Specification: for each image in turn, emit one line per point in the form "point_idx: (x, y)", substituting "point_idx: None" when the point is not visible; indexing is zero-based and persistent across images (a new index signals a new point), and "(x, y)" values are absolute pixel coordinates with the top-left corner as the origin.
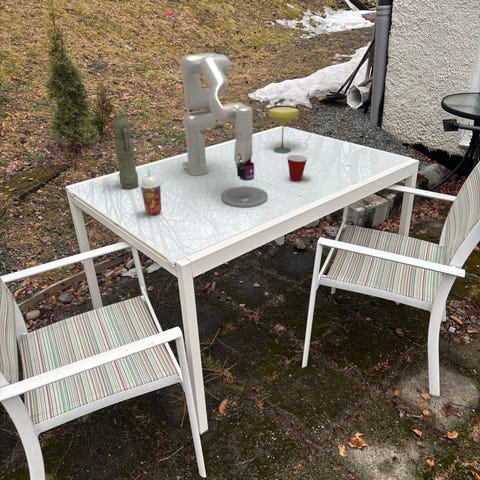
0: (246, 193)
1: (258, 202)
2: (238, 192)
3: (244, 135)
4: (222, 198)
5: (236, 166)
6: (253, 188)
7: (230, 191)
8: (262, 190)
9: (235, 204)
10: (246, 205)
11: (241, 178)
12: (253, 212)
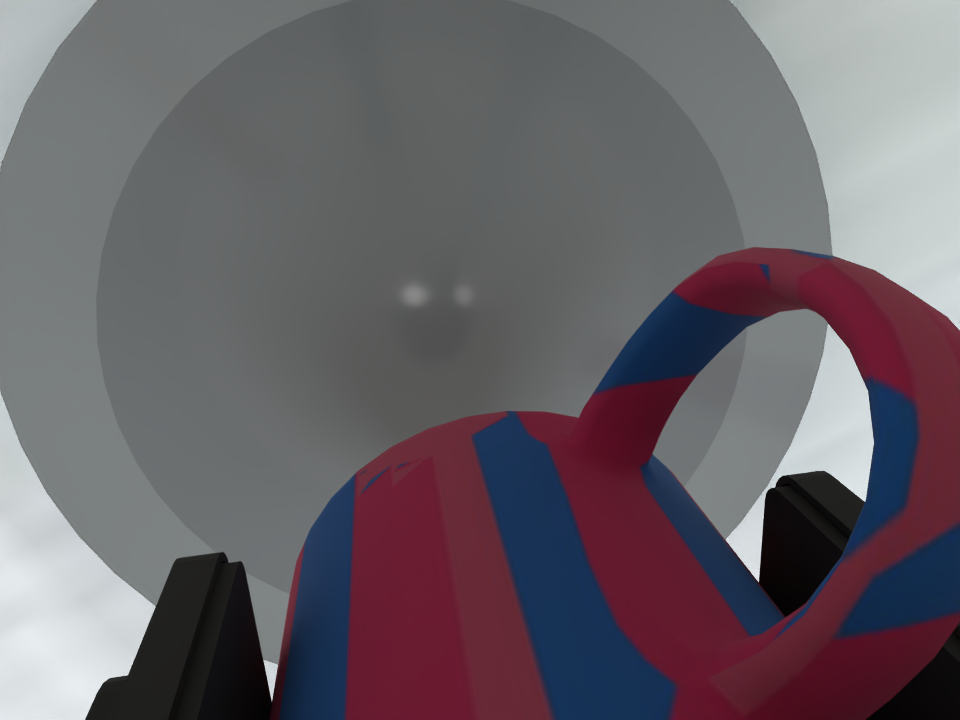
0: (520, 347)
1: None
2: (498, 196)
3: None
4: (77, 44)
5: (790, 255)
6: (772, 335)
7: (467, 20)
8: (743, 493)
9: (11, 414)
10: (115, 565)
11: (294, 584)
12: (46, 695)
